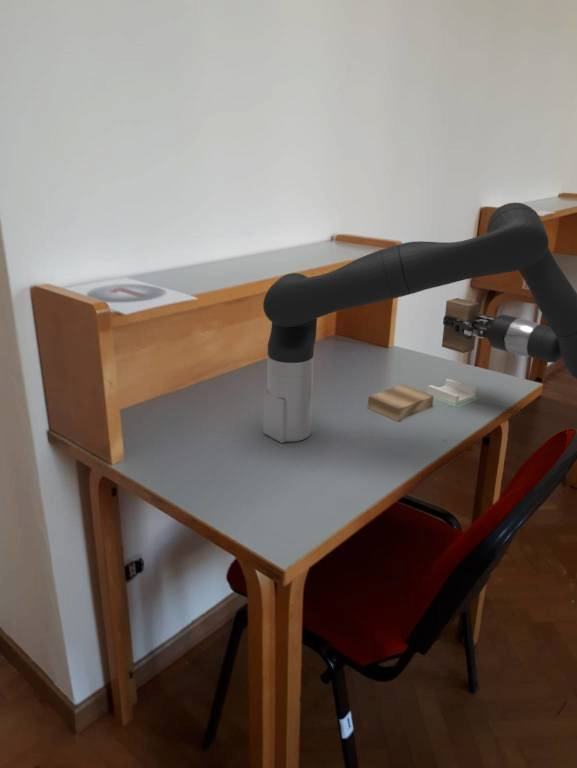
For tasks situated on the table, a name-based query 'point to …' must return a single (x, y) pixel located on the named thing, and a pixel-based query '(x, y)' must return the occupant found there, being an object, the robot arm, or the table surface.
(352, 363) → the table surface
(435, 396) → the rack
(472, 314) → the tall wooden pillar
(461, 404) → the mat
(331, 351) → the table surface
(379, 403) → the flat wooden block
